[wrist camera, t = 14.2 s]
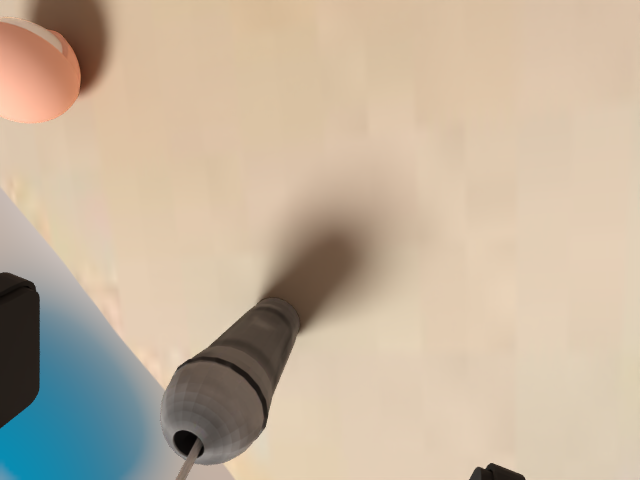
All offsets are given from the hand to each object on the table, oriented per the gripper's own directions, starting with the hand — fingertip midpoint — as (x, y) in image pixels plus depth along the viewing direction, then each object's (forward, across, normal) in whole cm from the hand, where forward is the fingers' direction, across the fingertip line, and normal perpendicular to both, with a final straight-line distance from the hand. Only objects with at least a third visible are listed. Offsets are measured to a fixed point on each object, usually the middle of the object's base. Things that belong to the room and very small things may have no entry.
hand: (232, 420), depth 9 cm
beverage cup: (+28, +6, +17) cm, 34 cm away
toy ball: (+28, +29, +1) cm, 41 cm away
